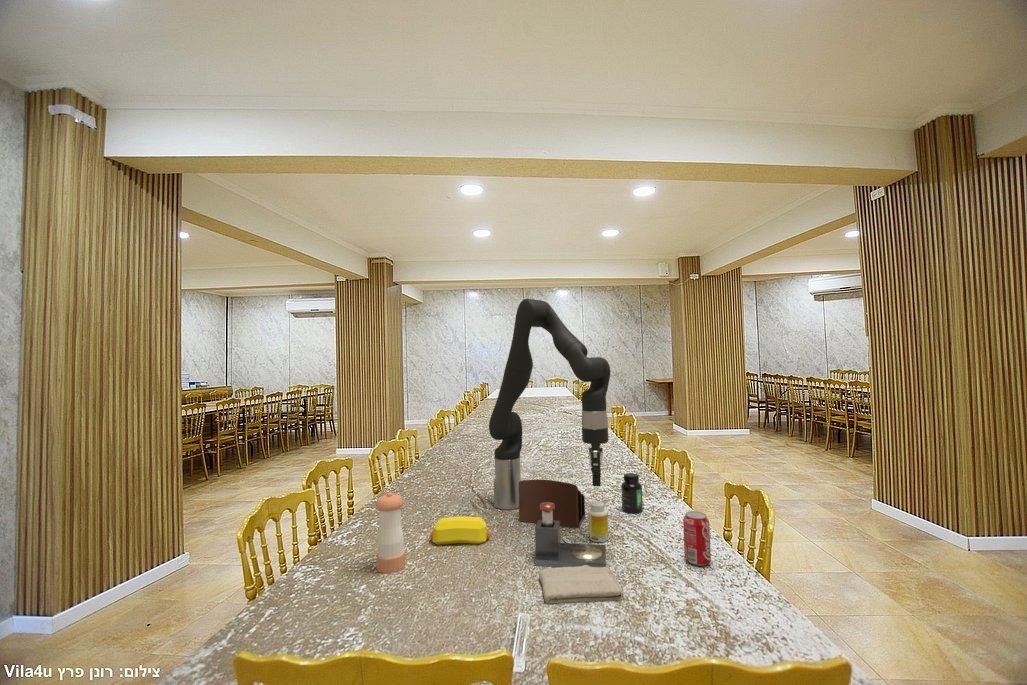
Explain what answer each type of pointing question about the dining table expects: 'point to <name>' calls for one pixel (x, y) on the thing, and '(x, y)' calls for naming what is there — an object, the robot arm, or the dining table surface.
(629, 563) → the dining table surface
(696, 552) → the beverage can
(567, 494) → the letter holder
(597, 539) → the supplement bottle
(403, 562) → the pepper shaker
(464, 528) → the yellow sponge block
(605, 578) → the washcloth
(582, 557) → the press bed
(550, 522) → the pin
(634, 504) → the supplement bottle
